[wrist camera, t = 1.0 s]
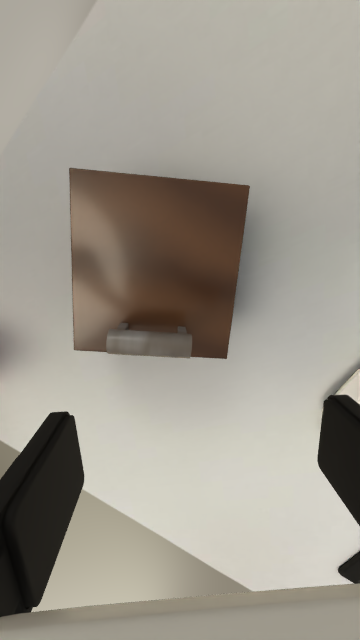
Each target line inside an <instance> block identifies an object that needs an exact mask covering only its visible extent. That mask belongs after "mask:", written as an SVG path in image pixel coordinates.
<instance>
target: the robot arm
mask: <svg viewBox="0 0 360 640" xmlns="http://www.w3.org/2000/svg"><path fill="white" fill-rule="evenodd" d="M318 464H319V467H320V469H321V471H322V472H323V474H324V475H325V477H326V478H327V479H328V481H329V482H330V484H331V485H332V487H333V488H334V490H335V491H336V492H337V494H338V495H339V497H340V498H341V500H342V501H343V503H344V504H345V505H346V507H347V508H348V510H349V511H350V513H351V514H352V516H353V517H354V518H355V520H356V521H357V523H358V524H359V526H360V404H358V403H357V402H356V401H355V400H353V399H352V398H351V397H350V396H348V395H345V394H344V395H330V396H329V397H328V399H327V400H325V401H324V405H323V414H322V423H321V432H320V441H319V450H318ZM83 483H84V471H83V465H82V459H81V453H80V447H79V442H78V436H77V430H76V424H75V419H74V416H73V415H70V414H69V413H68V412H52V413H50V414H49V415H48V417H47V418H46V419H45V421H44V422H43V423H42V425H41V426H40V428H39V429H38V430H37V432H36V433H35V434H34V436H33V437H32V439H31V440H30V441H29V443H28V444H27V445H26V447H25V448H24V449H23V451H22V452H21V454H20V455H19V456H18V457H17V458H16V459H15V461H14V462H13V463H12V465H11V466H10V467H9V469H8V470H7V471H6V473H5V474H4V476H3V477H2V478H1V480H0V640H360V583H357V584H344V585H331V586H318V587H305V588H293V589H280V590H268V591H256V592H244V593H232V594H220V595H208V596H196V597H184V598H173V599H162V600H151V601H139V602H128V603H117V604H107V605H95V606H84V607H75V608H67V609H57V610H48V611H39V612H31V610H32V608H33V607H37V606H38V605H39V603H40V601H41V599H42V596H43V593H44V591H45V588H46V586H47V583H48V580H49V577H50V575H51V572H52V569H53V567H54V564H55V561H56V558H57V556H58V553H59V550H60V547H61V544H62V542H63V539H64V536H65V533H66V531H67V528H68V525H69V523H70V520H71V517H72V515H73V512H74V509H75V506H76V503H77V501H78V498H79V495H80V493H81V490H82V487H83Z"/></svg>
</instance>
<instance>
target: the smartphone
mask: <svg viewBox="0 0 360 640" xmlns="http://www.w3.org/2000/svg"><path fill="white" fill-rule="evenodd" d="M338 572H339V573H340V575H342V576H343V577H345V578H347V579H348V580H350V581H351V582H353V583H355V584H357V583H360V552H359V553H358V554H357V555H355V556H354V557H353V558H352V559H350V560H349V561H348V562H347V563H345V564H344V565H343V566H342V567H340V568H339V569H338Z"/></svg>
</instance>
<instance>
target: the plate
mask: <svg viewBox="0 0 360 640" xmlns="http://www.w3.org/2000/svg"><path fill="white" fill-rule="evenodd" d="M344 394H345V395H348V396H350V397H351V398H352V399H353V400H355V401H356V402H357V403H358V404H360V368H359V369H358V370H357V371H356V372H355V373H354V374H353V375H352V376H351V377H350V379H349V380H348V381H347V382H346V383H345V384H344V385H343V386H342V387H341V388H340V389H339V390H338V392H337V393H336V394H335V395H344ZM322 414H323V408H322Z"/></svg>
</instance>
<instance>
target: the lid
mask: <svg viewBox="0 0 360 640" xmlns="http://www.w3.org/2000/svg"><path fill="white" fill-rule="evenodd" d="M69 175H70V214H71V252H72V290H73V328H74V350H80V351H98V352H107V353H108V354H122V355H140V356H158V357H175V358H190V357H204V358H222V359H227V353H228V345H229V338H230V330H231V323H232V315H233V308H234V300H235V293H236V286H237V278H238V271H239V263H240V256H241V248H242V241H243V233H244V226H245V218H246V211H247V203H248V196H249V188H250V186H248V185H238V184H228V183H218V182H208V181H198V180H187V179H177V178H167V177H157V176H147V175H137V174H127V173H116V172H106V171H96V170H86V169H76V168H69Z"/></svg>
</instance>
